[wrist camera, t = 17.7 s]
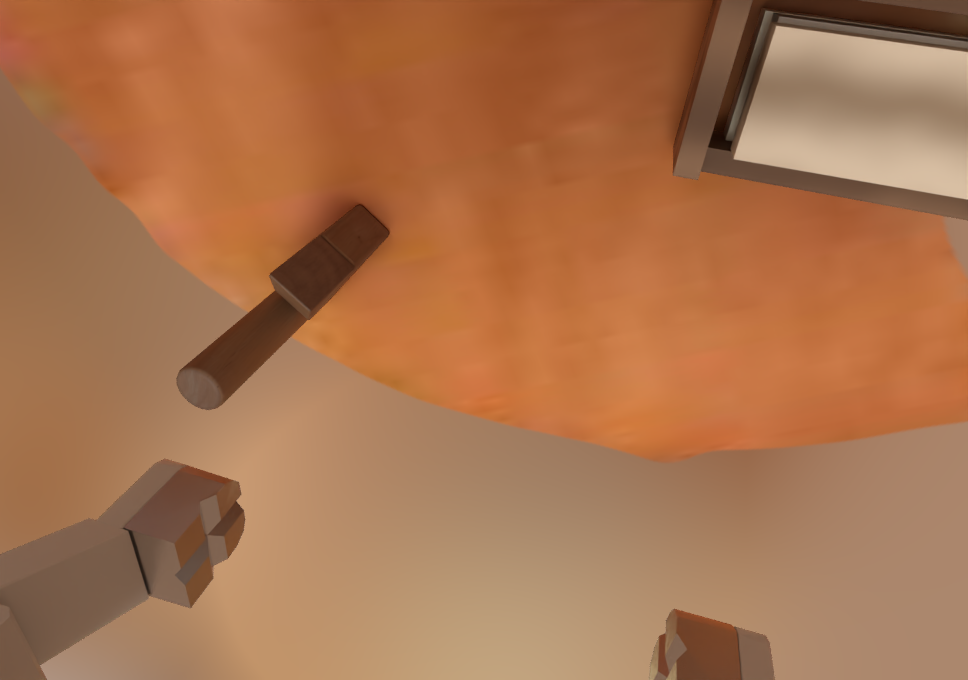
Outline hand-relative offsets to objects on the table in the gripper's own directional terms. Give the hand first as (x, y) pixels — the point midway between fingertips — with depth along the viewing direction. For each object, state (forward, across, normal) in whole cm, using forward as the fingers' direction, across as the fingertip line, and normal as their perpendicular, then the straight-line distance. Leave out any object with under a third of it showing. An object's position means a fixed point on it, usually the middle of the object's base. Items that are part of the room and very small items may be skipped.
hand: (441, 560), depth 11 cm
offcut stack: (+39, -14, -4) cm, 42 cm away
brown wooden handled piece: (+39, +21, +16) cm, 47 cm away
